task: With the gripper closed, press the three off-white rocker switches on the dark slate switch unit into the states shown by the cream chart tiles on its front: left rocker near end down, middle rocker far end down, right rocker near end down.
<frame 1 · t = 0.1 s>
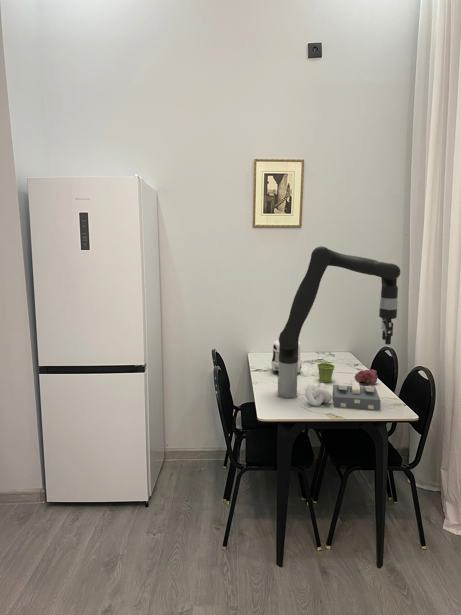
hand: (386, 342, 186), 29 cm above the table, fingers open, 8 cm apart
white knot sculpture: (316, 403, 189), on the table
switch unit: (355, 402, 190), on the table
plant pot: (325, 381, 219), on the table
flower: (365, 384, 214), on the table
rocker c: (369, 388, 188), point 7 cm above the table, hinge at -14.0°
milk container: (286, 372, 234), on the table
rocker b: (355, 387, 189), point 7 cm above the table, hinge at 14.0°
rocker a: (342, 386, 190), point 7 cm above the table, hinge at -14.0°
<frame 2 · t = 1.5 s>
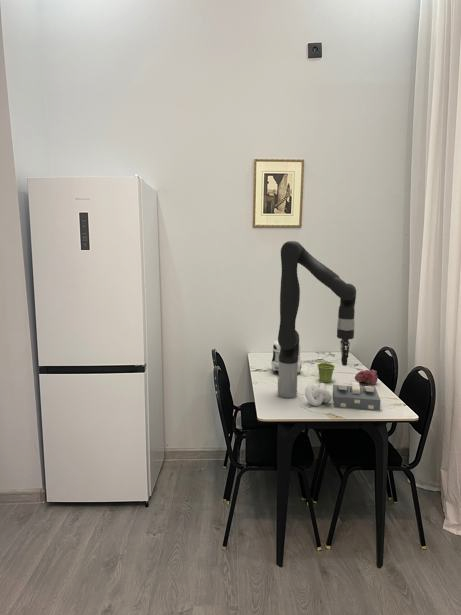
hand: (344, 363, 186), 19 cm above the table, fingers open, 4 cm apart
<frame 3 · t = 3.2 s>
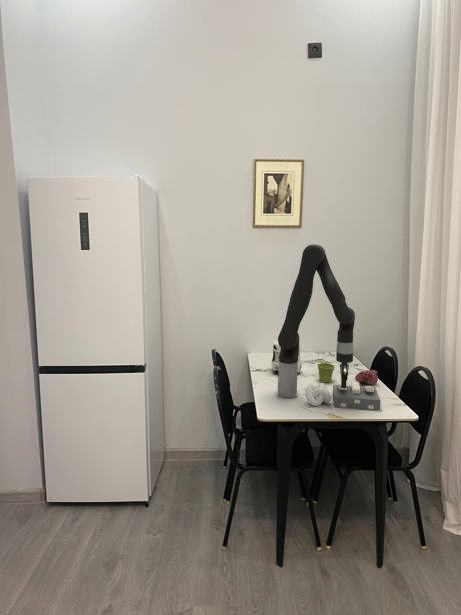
hand: (343, 387, 187), 8 cm above the table, fingers closed
rocker a: (342, 386, 190), point 7 cm above the table, hinge at -13.2°, touching gripper
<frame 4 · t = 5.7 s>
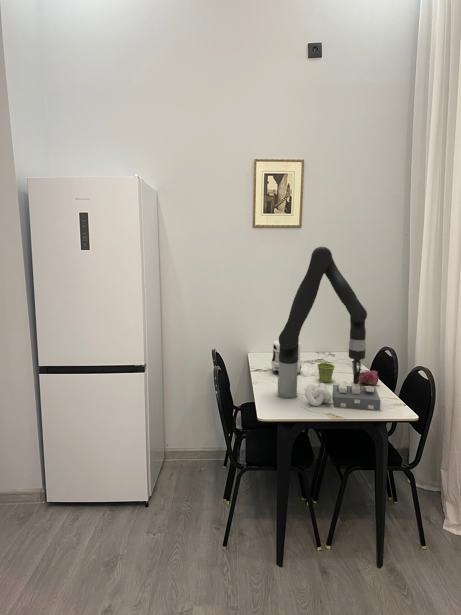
hand: (355, 383, 191), 8 cm above the table, fingers closed
rocker b: (355, 387, 189), point 7 cm above the table, hinge at 14.0°, touching gripper
rocker a: (342, 386, 190), point 7 cm above the table, hinge at 12.0°
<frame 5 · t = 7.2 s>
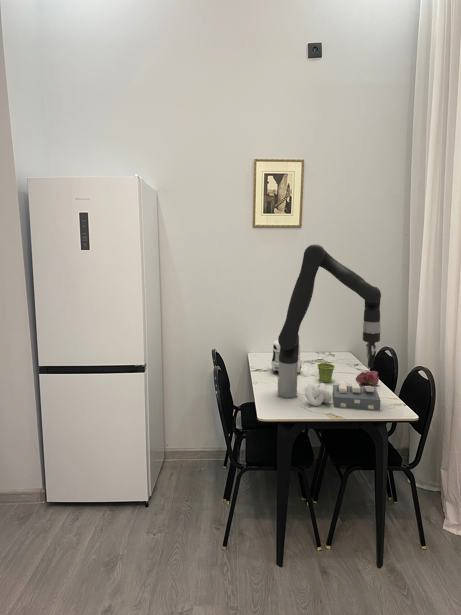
hand: (370, 367, 184), 18 cm above the table, fingers closed
rocker b: (355, 387, 189), point 7 cm above the table, hinge at 0.6°
rocker a: (342, 386, 190), point 7 cm above the table, hinge at 16.6°
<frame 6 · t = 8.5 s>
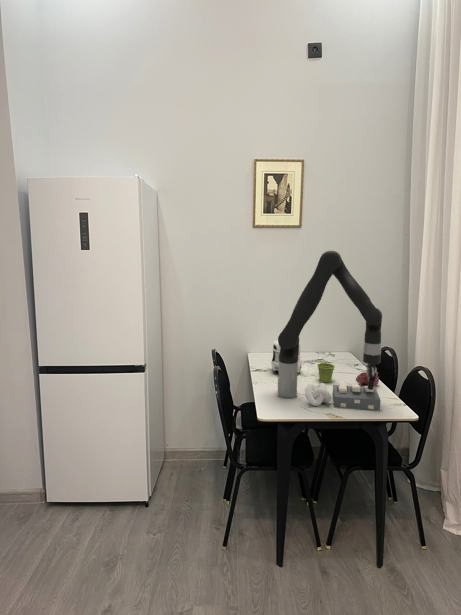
hand: (370, 388, 184), 8 cm above the table, fingers closed
rocker c: (369, 388, 188), point 7 cm above the table, hinge at -12.2°, touching gripper
rocker b: (355, 387, 189), point 7 cm above the table, hinge at -4.9°
rocker a: (342, 386, 190), point 7 cm above the table, hinge at 18.2°
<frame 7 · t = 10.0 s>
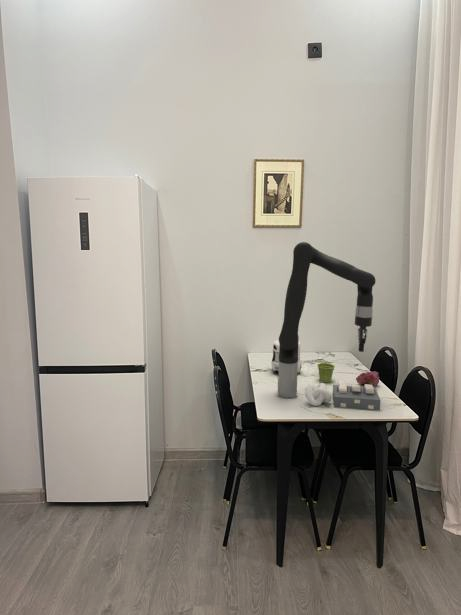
hand: (360, 351, 189), 24 cm above the table, fingers closed
rocker c: (369, 388, 188), point 7 cm above the table, hinge at 1.5°
rocker b: (355, 387, 189), point 7 cm above the table, hinge at -7.7°
rocker a: (342, 386, 190), point 7 cm above the table, hinge at 19.1°
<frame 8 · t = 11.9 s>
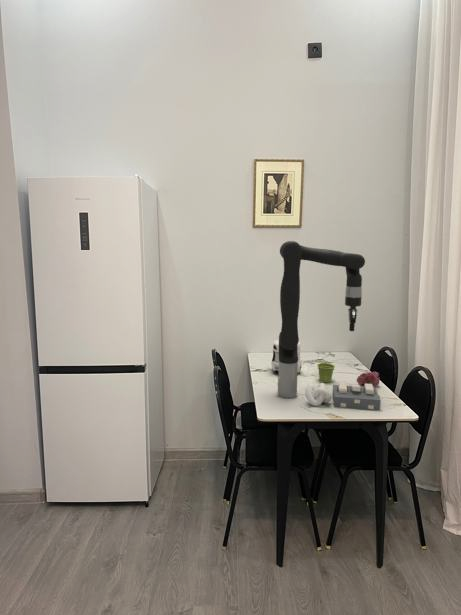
hand: (351, 330, 196), 32 cm above the table, fingers closed
rocker c: (369, 388, 188), point 7 cm above the table, hinge at 7.9°
rocker b: (355, 387, 189), point 7 cm above the table, hinge at -8.9°
rocker a: (342, 386, 190), point 7 cm above the table, hinge at 19.4°
at the end: rocker a at +19° (first picture: -14°); rocker b at -9° (first picture: +14°); rocker c at +8° (first picture: -14°) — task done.
